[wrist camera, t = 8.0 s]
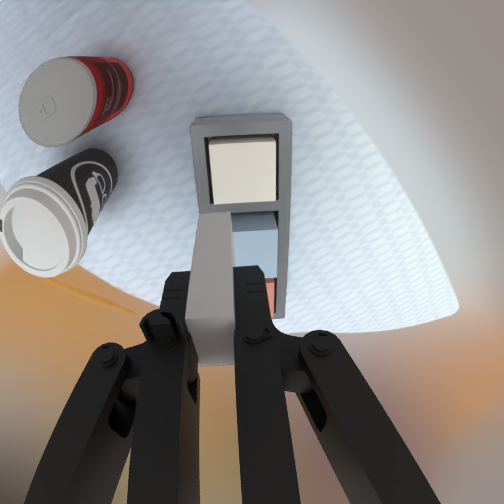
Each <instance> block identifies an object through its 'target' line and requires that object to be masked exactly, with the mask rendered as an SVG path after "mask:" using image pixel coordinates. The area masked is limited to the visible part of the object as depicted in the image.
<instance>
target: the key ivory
mask: <svg viewBox="0 0 504 504" xmlns="http://www.w3.org/2000/svg"><path fill="white" fill-rule="evenodd" d="M209 154H210V165H211V177H212V188H213V198H214V205H215V204H229V203H246V202H264V201H276V141H275V139H274V138H273V136H272V135H271V134H245V135H227V136H213V137H211V139H210V142H209Z"/></svg>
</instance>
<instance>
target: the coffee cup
mask: <svg viewBox="0 0 504 504" xmlns="http://www.w3.org/2000/svg"><path fill="white" fill-rule="evenodd" d="M117 177H118V174H117V168H116V165H115V163H114V161H113V159H112V158H111V157H110V156H109V155H108V154H107V153H106V152H104V151H102V150H99V149H87V150H84V151H82V152H80V153H78V154H76V155H74V156H72V157H70V158H68V159H66V160H64V161H62V162H61V163H59V164H57V165H55V166H53V167H51V168H49V169H48V170H46V171H44V172H42V173H40V174H39V175H37V176H30V177H25V178H23V179H20V180H19V181H17V182H16V183H15V184H14V185H13V186H12V187H11V188H10V190H9V191H8V193H7V195H6V197H5V199H4V201H3V204H2V209H1V211H0V238H1V241H2V243H3V245H4V247H5V249H6V251H7V253H8V254H9V255H10V257H11V258H12V259H13V260H14V261H15V263H16V264H17V265H19V266H20V267H21V268H22V269H24V270H25V271H27V272H29V273H31V274H33V275H36V276H39V277H54V276H56V275H58V274H61V273H64V272H66V271H68V270H70V269H71V268H73V267H74V266H75V265H77V264H78V263H79V262H80V260H81V259H82V258H83V256H84V254H85V251H86V247H87V236H88V234H89V232H90V230H91V229H92V227H93V225H94V223H95V221H96V219H97V217H98V215H99V213H100V212H101V210H102V208H103V206H104V204H105V203H106V201H107V199H108V197H109V196H110V194H111V192H112V191H113V189H114V187H115V185H116V182H117Z"/></svg>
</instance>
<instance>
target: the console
mask: <svg viewBox="0 0 504 504" xmlns="http://www.w3.org/2000/svg"><path fill="white" fill-rule="evenodd" d="M190 132H191V142H192V152H193V161H194V171H195V180H196V188H197V197H198V205H199V213H200V214H205V213H216V212H228V211H231V213H241V212H258V211H273V213H274V217H275V221H276V224H277V228H278V252H277V278H274V317H272V318H271V319H280V318H284V317H285V302H286V286H287V267H288V247H289V224H290V196H291V155H292V121H291V120H290V119H289V118H288V117H287V116H285V115H284V114H244V115H226V116H212V117H201V118H195V120H194V121H193V123H192V124H191V126H190ZM245 134H271V135H272V136H273V138H274V139H275V141H276V201H264V202H246V203H229V204H215V205H214V198H213V188H212V177H211V165H210V154H209V142H210V139H211V137H213V136H227V135H245Z"/></svg>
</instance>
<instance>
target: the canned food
mask: <svg viewBox="0 0 504 504" xmlns="http://www.w3.org/2000/svg"><path fill="white" fill-rule="evenodd" d="M132 88H133V82H132V76H131V73H130V71H129V70H128V68H127V67H126V65H125V64H124V63H122V62H121V61H119V60H118V59H115V58H112V57H88V56H76V57H60V58H56V59H52V60H49V61H47V62H45V63H43V64H42V65H40V66H39V67H38V68H37V69H36V70H35V71H34V72H33V73H32V74H31V75H30V76H29V78H28V79H27V81H26V83H25V85H24V87H23V89H22V92H21V95H20V100H19V117H20V122H21V124H22V127H23V129H24V131H25V133H26V134H27V135H28V137H29V138H30V139H31V140H33V141H34V142H35V143H37V144H39V145H42V146H45V147H57V146H61V145H64V144H67V143H69V142H71V141H72V140H74V139H76V138H78V137H80V136H82V135H83V134H85V133H87V132H89V131H90V130H92V129H94V128H96V127H98V126H99V125H101V124H103V123H105V122H107V121H109V120H111V119H113V118H114V117H116V116H117V115H118V114H119V113H120V112H121V111H122V110H123V109H124V108H125V106H126V105H127V103H128V101H129V99H130V97H131V93H132Z"/></svg>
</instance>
